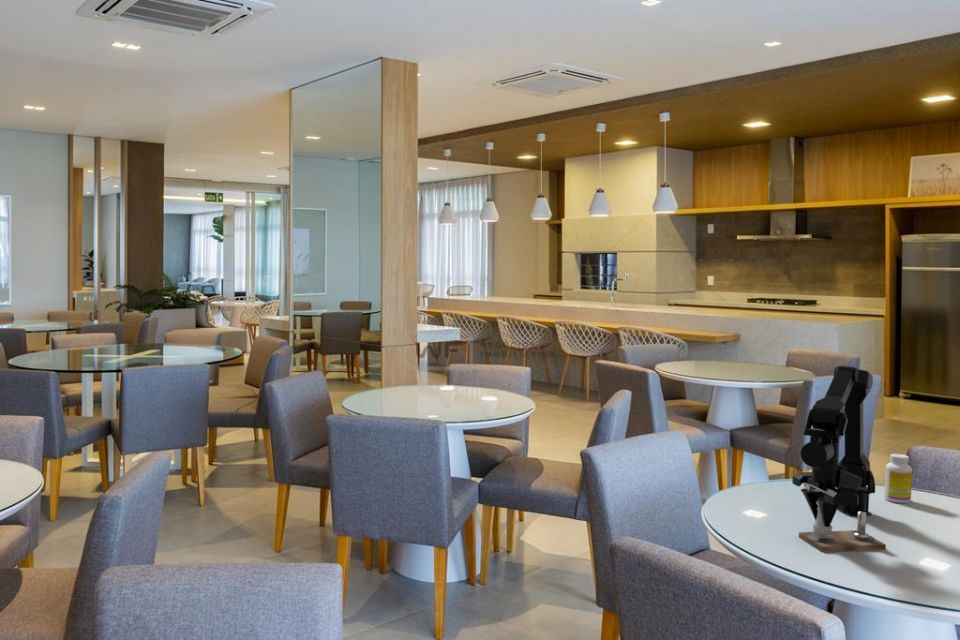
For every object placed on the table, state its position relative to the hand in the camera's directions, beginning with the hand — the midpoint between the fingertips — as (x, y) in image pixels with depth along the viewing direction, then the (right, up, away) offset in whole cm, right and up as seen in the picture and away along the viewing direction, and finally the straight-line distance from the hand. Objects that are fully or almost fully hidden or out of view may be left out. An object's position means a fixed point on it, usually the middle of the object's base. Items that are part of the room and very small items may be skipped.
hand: (822, 523), depth 189 cm
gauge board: (+5, -5, +1) cm, 7 cm away
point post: (+10, -4, +1) cm, 11 cm away
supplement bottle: (+37, -3, +37) cm, 52 cm away
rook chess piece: (0, -2, 0) cm, 2 cm away
